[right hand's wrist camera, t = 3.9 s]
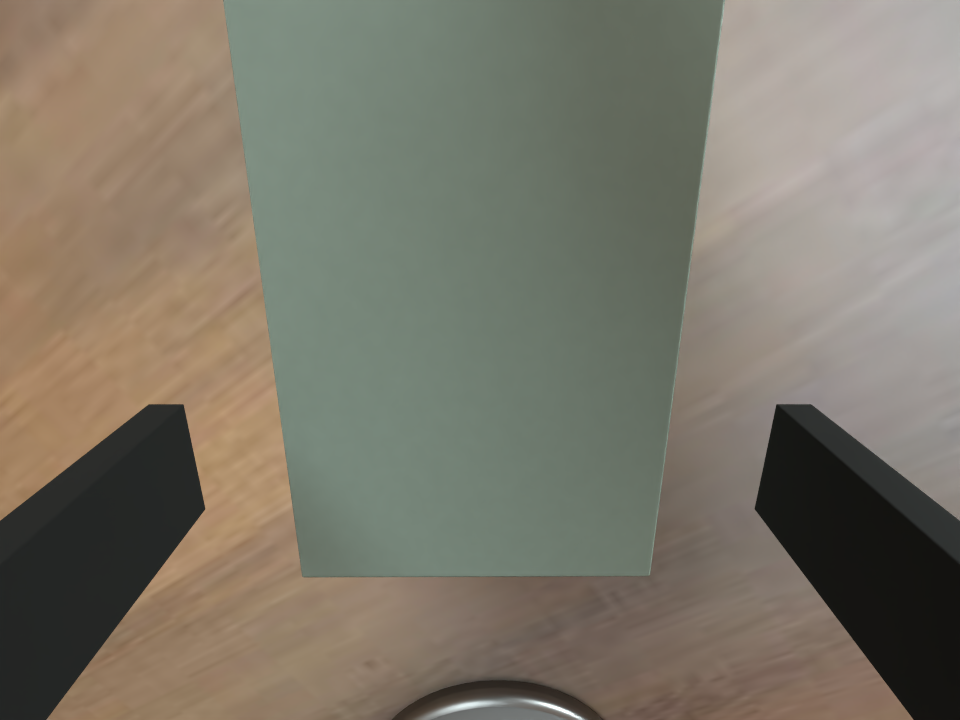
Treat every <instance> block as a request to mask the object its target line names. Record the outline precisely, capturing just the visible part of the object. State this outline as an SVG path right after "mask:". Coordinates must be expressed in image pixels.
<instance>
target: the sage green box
mask: <svg viewBox="0 0 960 720" xmlns="http://www.w3.org/2000/svg"><path fill="white" fill-rule="evenodd" d="M223 1H224V9H225V16H226V23H227V30H228V38H229V45H230V52H231V60H232V67H233V74H234V82H235V89H236V96H237V103H238V111H239V118H240V125H241V133H242V140H243V147H244V155H245V162H246V169H247V176H248V184H249V191H250V198H251V206H252V213H253V220H254V228H255V235H256V242H257V249H258V257H259V264H260V271H261V279H262V286H263V293H264V300H265V308H266V315H267V322H268V330H269V337H270V344H271V352H272V359H273V366H274V373H275V381H276V388H277V395H278V403H279V410H280V417H281V425H282V432H283V439H284V446H285V454H286V461H287V468H288V476H289V483H290V490H291V498H292V505H293V512H294V519H295V527H296V534H297V541H298V549H299V556H300V563H301V570H302V576H303V577H548V576H649V575H650V570H651V562H652V554H653V547H654V539H655V531H656V524H657V516H658V508H659V501H660V493H661V486H662V478H663V470H664V463H665V455H666V447H667V440H668V432H669V424H670V417H671V409H672V401H673V394H674V386H675V378H676V371H677V363H678V356H679V348H680V340H681V333H682V325H683V317H684V310H685V302H686V294H687V287H688V279H689V271H690V264H691V256H692V248H693V241H694V233H695V225H696V218H697V210H698V203H699V195H700V187H701V180H702V172H703V164H704V157H705V149H706V141H707V134H708V126H709V118H710V111H711V103H712V95H713V88H714V80H715V73H716V65H717V57H718V50H719V42H720V34H721V27H722V19H723V11H724V4H725V0H223Z"/></svg>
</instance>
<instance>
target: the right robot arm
mask: <svg viewBox="0 0 960 720" xmlns="http://www.w3.org/2000/svg"><path fill="white" fill-rule="evenodd" d="M204 510H205V505H204V501H203V496H202V491H201V486H200V481H199V477H198V472H197V467H196V462H195V457H194V453H193V448H192V443H191V438H190V433H189V429H188V424H187V419H186V414H185V409H184V405H183V404H149V405H148V406H146V407H145V408H144V409H142V410H141V411H140V412H139V413H137V414H136V415H135V416H134V417H132V418H131V419H130V420H128V421H127V422H126V423H125V424H123V425H122V426H121V427H119V428H118V429H117V430H116V431H114V432H113V433H112V434H111V435H109V436H108V437H107V438H105V439H104V440H103V441H102V442H100V443H99V444H98V445H97V446H95V447H94V448H93V449H91V450H90V451H89V452H88V453H86V454H85V455H84V456H82V457H81V458H80V459H79V460H77V461H76V462H75V463H74V464H72V465H71V466H70V467H68V468H67V469H66V470H65V471H63V472H62V473H61V474H59V475H58V476H57V477H56V478H54V479H53V480H52V481H51V482H49V483H48V484H47V485H45V486H44V487H43V488H42V489H40V490H39V491H38V492H37V493H35V494H34V495H33V496H31V497H30V498H29V499H28V500H26V501H25V502H24V503H22V504H21V505H20V506H19V507H17V508H16V509H15V510H14V511H12V512H11V513H10V514H8V515H7V516H6V517H5V518H3V519H2V520H1V521H0V720H46V719H47V718H48V717H49V715H50V714H51V713H52V711H53V710H54V709H55V707H56V706H57V705H58V703H59V702H60V701H61V699H62V698H63V697H64V695H65V694H66V693H67V691H68V690H69V689H70V688H71V686H72V685H73V684H74V682H75V681H76V680H77V678H78V677H79V676H80V674H81V673H82V672H83V670H84V669H85V668H86V666H87V665H88V664H89V662H90V661H91V660H92V658H93V657H94V656H95V654H96V653H97V652H98V650H99V649H100V648H101V646H102V645H103V644H104V642H105V641H106V640H107V639H108V637H109V636H110V635H111V633H112V632H113V631H114V629H115V628H116V627H117V625H118V624H119V623H120V621H121V620H122V619H123V617H124V616H125V615H126V613H127V612H128V611H129V609H130V608H131V607H132V605H133V604H134V603H135V601H136V600H137V599H138V597H139V596H140V595H141V593H142V592H143V591H144V590H145V588H146V587H147V586H148V584H149V583H150V582H151V580H152V579H153V578H154V576H155V575H156V574H157V572H158V571H159V570H160V568H161V567H162V566H163V564H164V563H165V562H166V560H167V559H168V558H169V556H170V555H171V554H172V552H173V551H174V550H175V548H176V547H177V546H178V544H179V543H180V542H181V540H182V539H183V538H184V537H185V535H186V534H187V533H188V531H189V530H190V529H191V527H192V526H193V525H194V523H195V522H196V521H197V519H198V518H199V517H200V515H201V514H202V513H203V511H204ZM755 510H756V511H757V513H758V514H759V515H760V517H761V518H762V519H763V521H764V522H765V523H766V525H767V526H768V527H769V529H770V530H771V531H772V533H773V534H774V535H775V537H776V538H777V539H778V540H779V542H780V543H781V544H782V546H783V547H784V548H785V550H786V551H787V552H788V554H789V555H790V556H791V558H792V559H793V560H794V562H795V563H796V564H797V566H798V567H799V568H800V570H801V571H802V572H803V574H804V575H805V576H806V578H807V579H808V580H809V582H810V583H811V584H812V586H813V587H814V588H815V590H816V591H817V592H818V593H819V595H820V596H821V597H822V599H823V600H824V601H825V603H826V604H827V605H828V607H829V608H830V609H831V611H832V612H833V613H834V615H835V616H836V617H837V619H838V620H839V621H840V623H841V624H842V625H843V627H844V628H845V629H846V631H847V632H848V633H849V635H850V636H851V637H852V639H853V640H854V641H855V642H856V644H857V645H858V646H859V648H860V649H861V650H862V652H863V653H864V654H865V656H866V657H867V658H868V660H869V661H870V662H871V664H872V665H873V666H874V668H875V669H876V670H877V672H878V673H879V674H880V676H881V677H882V678H883V680H884V681H885V682H886V684H887V685H888V686H889V688H890V689H891V690H892V691H893V693H894V694H895V695H896V697H897V698H898V699H899V701H900V702H901V703H902V705H903V706H904V707H905V709H906V710H907V711H908V713H909V714H910V715H911V717H912V718H913V719H914V720H960V521H959V520H958V519H957V518H955V517H954V516H953V515H952V514H950V513H949V512H948V511H946V510H945V509H944V508H943V507H941V506H940V505H939V504H938V503H936V502H935V501H934V500H932V499H931V498H930V497H929V496H927V495H926V494H925V493H923V492H922V491H921V490H920V489H918V488H917V487H916V486H915V485H913V484H912V483H911V482H909V481H908V480H907V479H906V478H904V477H903V476H902V475H901V474H899V473H898V472H897V471H895V470H894V469H893V468H892V467H890V466H889V465H888V464H886V463H885V462H884V461H883V460H881V459H880V458H879V457H878V456H876V455H875V454H874V453H872V452H871V451H870V450H869V449H867V448H866V447H865V446H863V445H862V444H861V443H860V442H858V441H857V440H856V439H855V438H853V437H852V436H851V435H849V434H848V433H847V432H846V431H844V430H843V429H842V428H841V427H839V426H838V425H837V424H835V423H834V422H833V421H832V420H830V419H829V418H828V417H826V416H825V415H824V414H823V413H821V412H820V411H819V410H818V409H816V408H815V407H814V406H812V405H811V404H777V405H776V409H775V414H774V419H773V424H772V429H771V433H770V438H769V443H768V448H767V453H766V457H765V462H764V467H763V472H762V477H761V481H760V486H759V491H758V496H757V501H756V505H755ZM392 720H602V719H601V718H600V717H599V716H598V715H597V714H596V713H595V712H594V711H593V710H591V709H590V708H589V707H587V706H586V705H584V704H583V703H581V702H580V701H578V700H576V699H574V698H572V697H570V696H569V695H567V694H564V693H562V692H559V691H557V690H554V689H551V688H547V687H544V686H540V685H535V684H531V683H524V682H517V681H479V682H472V683H465V684H461V685H456V686H452V687H449V688H445V689H442V690H439V691H437V692H434V693H432V694H429V695H427V696H425V697H423V698H421V699H419V700H417V701H416V702H414V703H412V704H411V705H409V706H408V707H406V708H405V709H404V710H402V711H401V712H400V713H399V714H398V715H396V716H395V717H394V718H393V719H392Z"/></svg>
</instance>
